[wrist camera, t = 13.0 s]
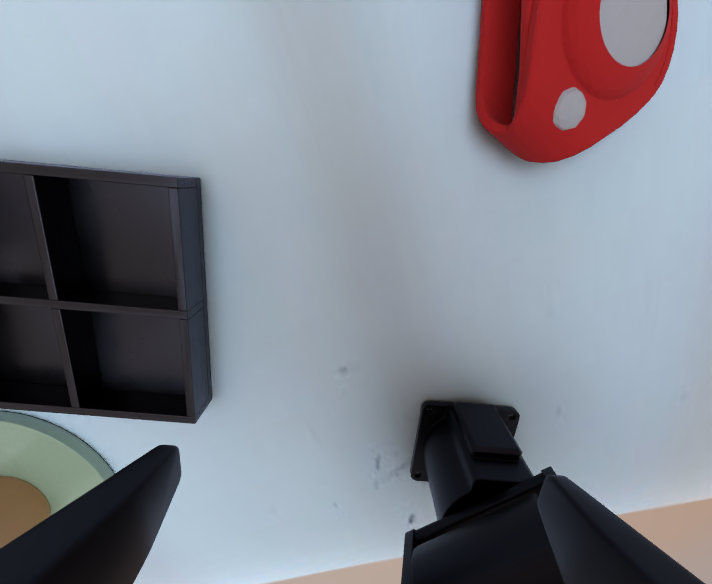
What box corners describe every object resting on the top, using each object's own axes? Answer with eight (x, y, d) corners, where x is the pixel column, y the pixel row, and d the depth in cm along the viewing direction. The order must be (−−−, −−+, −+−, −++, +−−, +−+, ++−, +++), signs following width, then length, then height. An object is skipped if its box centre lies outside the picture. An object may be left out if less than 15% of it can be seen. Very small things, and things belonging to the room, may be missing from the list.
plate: (136, 567, 28) (129, 579, 27) (-46, 554, 28) (-59, 566, 27) (111, 419, 24) (102, 428, 23) (-108, 402, 23) (-126, 410, 22)
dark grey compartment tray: (212, 398, 23) (195, 424, 21) (-106, 373, 23) (-161, 396, 20) (200, 177, 19) (176, 177, 16) (-197, 141, 18) (-282, 135, 16)
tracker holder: (740, -14, 15) (626, 193, 15) (631, 36, 19) (544, 197, 19) (575, -316, 10) (419, -9, 11) (479, -163, 14) (370, 53, 15)
